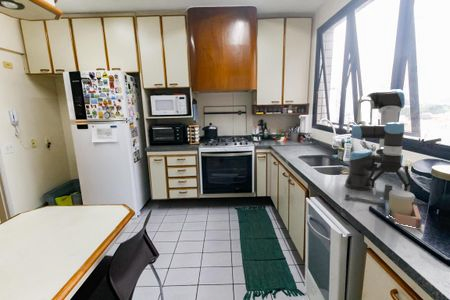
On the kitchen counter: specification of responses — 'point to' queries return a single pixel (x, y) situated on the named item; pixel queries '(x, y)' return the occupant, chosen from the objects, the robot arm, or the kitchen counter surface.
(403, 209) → the coffee cup
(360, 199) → the rail
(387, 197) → the pusher
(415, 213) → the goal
